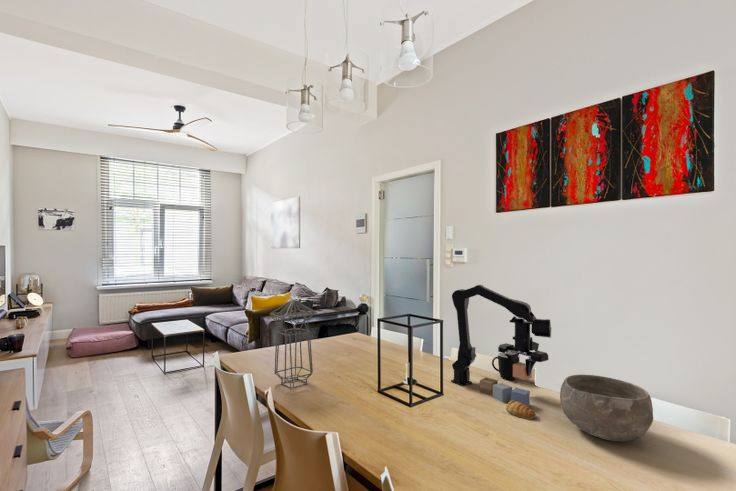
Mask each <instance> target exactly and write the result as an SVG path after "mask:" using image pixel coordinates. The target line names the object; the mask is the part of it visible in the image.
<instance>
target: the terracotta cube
mask: <svg viewBox="0 0 736 491" xmlns="http://www.w3.org/2000/svg"><path fill="white" fill-rule="evenodd" d="M532 372H533V370H532V371H531V373H530V376H527V373H526V362H521V361H519V363H515V364H513V377H515V378H516V379H518V380H521V381H526V380H530V379H532V378H533V376H532V374H533V373H532Z"/></svg>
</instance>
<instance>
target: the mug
mask: <svg viewBox="0 0 736 491" xmlns="http://www.w3.org/2000/svg"><path fill="white" fill-rule="evenodd" d="M505 354H506V352H505V353H502V352H498V354H497V356H496V357H493V359H492V360H491V365H492V368H493V369H494V370H495V371H497V372H498V374H499V376H500V378H501V379H503V380H505V379H506V381H516V379H517V378H515V377H513V367H512V365H511V363H510V361H509V359H508V357H507V356H506V355H505ZM496 360H498V361H497V362H498V364H497V365H498V368H497V367H496V366H495V361H496ZM519 362H520V355H519V356H518V363H519Z"/></svg>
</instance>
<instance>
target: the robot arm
mask: <svg viewBox="0 0 736 491" xmlns="http://www.w3.org/2000/svg"><path fill="white" fill-rule="evenodd" d="M475 296H480V297H482V298H484V299H486V300H488V301H490V302H492V303H494V304H497V305H499V306H501V307H503V308H504V309H506V310H507V311H509V312H510V313H511V314H512V315H514V316H513V317H512V318H511V319H510V320H509V323H511V324H512V323H514V336H512V340H514V344H511V343H502V344H501V343H500V344H499V345H498V347H497V351H498V353H506V354H505V355H506V356H507V357H508V359H509V361H510V363H511V365H512V367H513V364H515V363H518V356H519V357H520V355H523V356H526V357H528V358H526V359H525V362H524V363H525V364H526V373H527V376H530V373H531V371H532V372H533V368H534V367H535V364H536V363H543V362H547V361H549V354H548V353H547V352H546V351H545V352H544V351H540V350H539V347H540V344H539V343H538V342H535V341H533V337H531V334H532V335H534V337H542V338H551V337H552V325H551V324H552V323H551V319H549V318H548V319H547V318H545V319H544V318H543V319H541V318H537V317H536V316H535V314H534V313H533V312H532V308H531V306H530V303H527V302H525V301H523V300H522V301H521V300H518V299H514V298H513V299H512V298H509V297H507V296H505V295H503V294H500V293H499V292H496V291H494V290H492V289H489V288H488V287H486V286H484V285H483V284H477V285H475V286H473V287H470V288H467V289H464V288H462V289H461V288H460V289H457V290H454V291H453V292H452V294H451V300H452V302H453V306H454V308H455V310H456V316H457V317H456V318H457V327H458V328H457V329H458V338H459V340H458V341H459V345H458V349H457V350H458V351H457V359H456V360H455V361H454V362H453V363H452V369H453V379H451V380H450V382H452V383H454V384H457V385H460V386H465V385H469V384H473V381H471V379H470V375H471V374H470V373H471V371H470V366H471V364H472V363H474V362H475V360H476V357H477V354H476V346H474V347H473V346H472V344H471V337H470V326H469V316H468V315H469V314H468V308H469V304H470V298H473V297H475Z"/></svg>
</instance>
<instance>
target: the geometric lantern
mask: <svg viewBox="0 0 736 491" xmlns="http://www.w3.org/2000/svg"><path fill="white" fill-rule="evenodd" d="M280 309H281V310H280ZM278 310H280V311H279V312H277V311H278ZM297 311H298V312H299V313H300V314H299V315H298V314H297V313H298V312H297ZM304 313H305V315H304ZM294 314H295V315H294ZM315 314H318V311H316V310H314V309H312V308H311V307H309V306H307V305H305V304H303V303H302V302H300V301H298V300H297V299H291V300H289V301H288V302H285V303H284V304H282V305H281V306H279V307H278V308H276V309H275V310H272V311H271V312H270V313H269V315H270V317H271V318H272V320H274V322H275V324H280V326H279V329H278V330H276V333H275V351H274V353H275V356H274V357H275V358H274V375H275V376H277V377H278V378H279V379H280V381H281V385H283V386H285V387H287V388H288V389H295V388H298V387H301V386H305V385H308V379H309V378H310V377H311V376H312V374H314V372H313V371H314V370H313V356H312V355H313V354H312V341H311V330H309V326H308V325H307V324H309V320H311V318H312V317H313V316H314V315H315ZM287 315H288V316H287ZM274 317H275V318H274ZM299 317H303V321H299ZM277 318H278V319H277ZM294 318H296V320H297V321H296V320H295V319H294ZM280 319H281V320H280ZM286 320H287V321H288V320H289V322H290V323H291V324H292V326H293V328H289V329H285V328H284V326H283V325H284V324H283V323H284V321H286ZM306 321H307V322H306ZM293 322H294V323H295V325H294V323H293ZM300 324H301V325H300ZM297 325H300V327H298V328H297V327H296V326H297ZM303 326H305V328H302V327H303ZM281 329H282V330H281ZM293 330H295V333H292V331H293ZM297 330H299V331H298V332H297ZM287 331H290V332H288V333H287ZM301 331H304V332H301ZM305 331H306V332H305ZM283 332H284V333H283ZM291 333H292V334H291ZM302 334H303V335H304V334H306V339H307V349H308V351H307V352H308V361H309V369H308V368H306V367H303V356H302V355H303V354H302V336H301V335H302ZM280 335H283V336H284V337H285V338H284V340H285V341H284V369H280V370H279V369H278V368H279V367H278V366H279V352H280V337H281V336H280ZM297 335H298V336H299V354H300V366H297V345H298V344H297V343H298V342H297V339H298V338H297ZM291 336H295V337H294V338H295V341H294V342H295V344H294V349H295V350H294V366H293V363H292V361H293V360H292V358H293V357H292V341H291V340H292V338H291ZM287 338H289V343H288V344H289V359H290V360H289V361H290V367H287V342H288V341H287ZM293 369H294V374H293ZM297 369H299V371H298V373H297ZM302 369H303V370H306V371H308V372H310V373H306V374H301V375H300V372H301V370H302ZM288 370H290V375H288V376H287V371H288ZM281 372H284V376H282V375H280V373H281ZM300 378H301V379H300ZM302 378H303V379H302ZM295 380H296V381H295ZM291 381H292V382H291ZM299 382H302V383H303V384H299V385H296V386H295V383H299ZM285 383H289V385H287V384H285Z"/></svg>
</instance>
